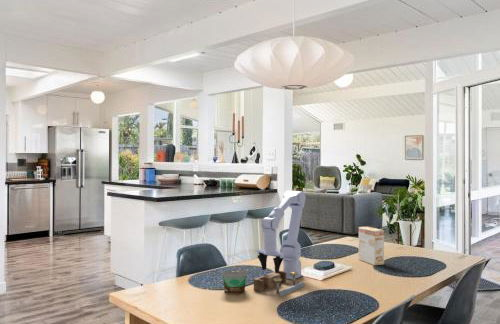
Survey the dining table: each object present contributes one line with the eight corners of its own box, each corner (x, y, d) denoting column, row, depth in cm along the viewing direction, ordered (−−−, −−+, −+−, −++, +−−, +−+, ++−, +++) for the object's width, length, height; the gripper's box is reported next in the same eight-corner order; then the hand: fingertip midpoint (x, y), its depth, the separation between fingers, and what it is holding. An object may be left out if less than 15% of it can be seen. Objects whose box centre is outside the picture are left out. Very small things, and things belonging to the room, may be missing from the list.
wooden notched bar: (278, 280, 214) (278, 270, 214) (286, 282, 211) (286, 271, 211) (253, 289, 199) (253, 278, 199) (262, 291, 196) (262, 280, 196)
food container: (224, 296, 191) (223, 273, 190) (221, 291, 197) (221, 270, 196) (250, 293, 194) (250, 271, 194) (247, 289, 200) (247, 268, 200)
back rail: (302, 286, 204) (302, 281, 204) (304, 286, 204) (304, 282, 204) (279, 295, 190) (279, 291, 190) (281, 296, 190) (281, 291, 190)
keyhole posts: (292, 284, 207) (292, 271, 207) (299, 285, 204) (299, 272, 204) (271, 293, 194) (271, 279, 194) (278, 294, 192) (278, 280, 192)
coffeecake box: (384, 264, 243) (384, 229, 242) (374, 265, 240) (374, 230, 240) (368, 258, 257) (367, 225, 256) (358, 259, 254) (357, 226, 254)
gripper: (253, 242, 206) (253, 270, 207) (277, 245, 197) (277, 275, 197) (262, 239, 212) (262, 266, 212) (286, 243, 202) (286, 271, 203)
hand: (270, 270), depth 205 cm, fingers open, 7 cm apart
